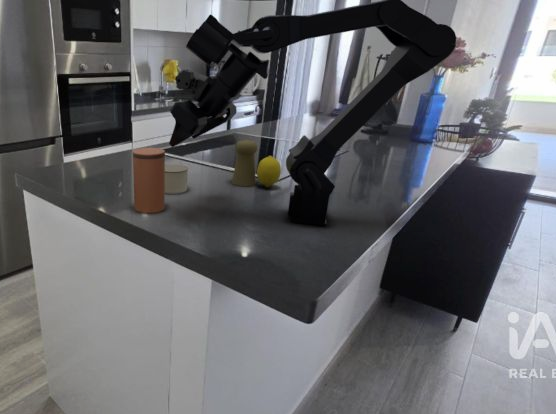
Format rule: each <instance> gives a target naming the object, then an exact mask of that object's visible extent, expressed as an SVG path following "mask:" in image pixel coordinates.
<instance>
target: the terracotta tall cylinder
mask: <svg viewBox="0 0 556 414" xmlns="http://www.w3.org/2000/svg"><path fill="white" fill-rule="evenodd" d="M165 165H166V151H165V149H163V148H159V147H141V148H136V149H134V150H133V151H132V168H133V169H132V170H133V171H132V172H133V174H132V175H133V206H134V207H133V209H134V210H135V211H137V212H138V213H143V214H154V213H160V212H162V211H164V210H165V205H166V203H165V202H166V201H165V200H166V197H165V195H166V193H165Z"/></svg>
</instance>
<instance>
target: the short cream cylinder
mask: <svg viewBox="0 0 556 414" xmlns="http://www.w3.org/2000/svg"><path fill="white" fill-rule="evenodd" d="M188 170H189V167H188V166H187V165H183V164H178V163H177V164H176V163H175V164H174V163H171V164H169V163H167V164H165V194H169V195H170V194H171V195H176V194H177V195H178V194H183V193H185V192H187V190H188V172H189V171H188Z"/></svg>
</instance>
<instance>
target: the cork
mask: <svg viewBox="0 0 556 414" xmlns="http://www.w3.org/2000/svg"><path fill="white" fill-rule="evenodd" d="M235 151H236V154H237V156H236V161H235V165H234V170H233V174H232V180H231V183H232V184H233V185H235V186H238V187H252V186H253V187H254V186H255V185H256V184H257V181H256V178H257V177H256V163H255V161H256V160H255V153H256V152H257V151H258V144H257V142H256V141H254V140H252V139H251V140H250V139H244V140H243V139H242V140H239V141H238V142H237V143H236V145H235Z"/></svg>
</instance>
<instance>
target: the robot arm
mask: <svg viewBox="0 0 556 414" xmlns="http://www.w3.org/2000/svg"><path fill="white" fill-rule="evenodd" d="M370 28H376V29H377V30H379V31H380V33H381V34H382V35H383V36H384V37H385V38H386V40H387V41H388V42H389V43H391V44H392V46H394V49H393V50H392V51H391V52H390V54H389V56H388V58H387V60H386V62H385V64H384V66H383V68H382V69H381V71H380V72H379V73H378V74H377V75H376V76H375V77H374V78H372V79H371V81H370V82H369V83H368V84H367V85H366V86H365V87H364V88H363V89H362V90H361V91H359V93H358V94H357V95H356V96H355V97H354V98H353V99H352V100H351V102H350V103H349V104H347V105H346V106H345V108H343V109H342V110H341V112H340V113H339V114H338V115H337V116H336V117H335V118H334V119H333V120H332V121H331V122H330V123H328V124H327V126H325V128H323V130H322V131H321V132H320V133H318V134H317V135H314V136H313V137H312V138H308V136H307V135H305V134H304V135H303V136H302V137H301V138H300V139H299V140H298V142H297V144H295V145H294V146H293V147H291V148H290V149H288V152H289V154H288V155H287V157H286V158H285V167H286V170H287V173H288V174H289V176H290V178H291V179H292V181H293V182H294V183H296V184H294V187H293V191H291V192H290V193H289V200H288V209H287V215H288V216H289V222H291V223H298V224H307V225H315V226H327V224H328V222H327V215H328V208H329V203H330V202H329V201H330V196H331V195H332V193H333V192H334V190H335V187H336V186H335V184H334V183H333V182H332V181H331V180H330V178H329V177H328V175H326V172H327V171H328V170H329V168H330V167H331V165H332V163H333V162H334V160H335V158H336V155H337V154H338V152H339V150H340V149H341V148H342V147H343V146H344V145H345V144H346V143H347V142H348V141H349V140H350V139H351V138H352V137H353V136H354V135H355V134H356V133H357V132H359V130H360V129H362V127H363V126H364V125H366V123H368V121H370V120H371V119H372V118H373V117H374V116H375V115H376V114H377V113H378V112H379V111H380V110H381V109H382V108H383V107H384V106H385V105H386V104H387V103H388V102H389V101H391V100H392V98H393V97H394V96H396V95H397V93H398V92H399V91H401V90H402V89H403V87H405V86H406V85H407V84H409V83H411V82H413V81H415V80H416V79H417V78H419V77H421V76H423V75H425V74H426V73H428V72H429V71H431V70H433V69H434V68H435V67H436V66H439V65H440V64H441V63H442V62H444V61H445V60H446V59H448V58H449V57H450V56H451V54H452V53H454V51H455V49H456V48H457V35H456V32H455V31H454V29H453V28H452V27H451V26H450V25H447V24H443V23H437V22H435V21H434V20H433V19H432V18H431V17H429V16H427V15H426V14H424V13H422V12H420V11H417V10H416V9H414V8H412V7H411V6H409V5H408V4H407V3H405V2H404V1H403V0H377V1H372V2H368V3H363V4H357V5H353V6H347V7H343V8H337V9H333V10H328V11H323V12H322V11H321V12H318V13H313V14H307V15H305V14H304V15H303V14H302V15H297V14H274V15H273V14H271V15H264V16H262V17H259V19H257V20H256V21H255V22H254V23H253V25H252V26H251V27H249V28H246V29H243V30H238V31H237V32H234V33H233V32H231V31H230V30H229V29H228V28H227V27H225V25H223V24H222V23H220V22H219V21H218V19H217V18H216V17H215V16H214V15H212V14H209V15H208V16H207V17H206V19H205V20H204V21H203V22H202V23H201V25H199V27H198V28H196V29H195V31H194V32H193V33H192V35H191V36H190V38H189V39H188V41H187V43H186V44H185V45H186V46H185V48H186V49H187V50H188V51H190V53H192V54H193V55H194V56H196V57H197V58H198V59H199V60H201V61H202V62H203V63H204V64H206V65H207V66H208V67H211V65H213V64H215V65H216V66H219V65H220V63H221V62H222V61H223V60H224V58H226V55H227V54H228V53H229V52H230V53H231V54H230V55H229V56H228V57H227V59H226V60H225V62H223V64H222V66H221V67H220V68H219V70H217V72H216V74H215V75H212V76H206V75H204V74H201V73H199V72H197V71H194V70H191V69H182V70H181V71H179V72H178V74H177V76H175V77H174V80H175V84H176V89H178V90H183V91H185V92H187V93H190V94H192V96H191V98H192V99H193V101H195V102H197V105H196V104H195V102H193V101H192V100H191V99H185V100H180V101H175V102H174V103H173V105H172V107H171V108H170V109H169V113H170V114H171V116H172V117H173V119H174V120H175V124H174V128H173V131H172V133H171V136H170V140H169V142H168V144H169V146H170V147H171V148H174V147H176V146H178V145H180V144H181V143H183V142H184V141H186V140H188V139H190V138H192V139H197V138H198V137H200V136H203V135H204V134H206V133H209V132H210V131H212V130H213V129H215V128H217V127H219V126H221V125H224V124H226V123H227V122H228V121H230V120H232V119H233V118H234V117H235V116H236V114H237V105H235V104H234V103H233V102H234V101H237V100H239V99H240V98H241V97H242V94H241V93H242V91H243V90H244V89H245V88H246V87H247V86H248V85H249V83H250V82H251V81H252V79H254V77H255V76H256V75H259V77H261V78H262V79H264V80H266V79H268V77H269V74H270V69H269V65H270V63H271V62H270V59H260V58H259V57H258V56H257V55H256V54H254V53H253V52H252V51H249V52H245V51H243V50H242V49H240V48H251V49H252V50H253V51H254V52H255V53H257V54H263V55H265V54H268V53H272V52H274V51H277V50H280V49H283V48H286V47H289V46H291V45H293V44H297V43H300V42H302V41H305V40H309V39H315V38H321V37H326V36H331V35H337V34H342V33H347V32H348V33H349V32H353V31H359V30H363V29H370ZM235 44H236V45H235ZM239 47H240V48H239Z"/></svg>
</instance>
